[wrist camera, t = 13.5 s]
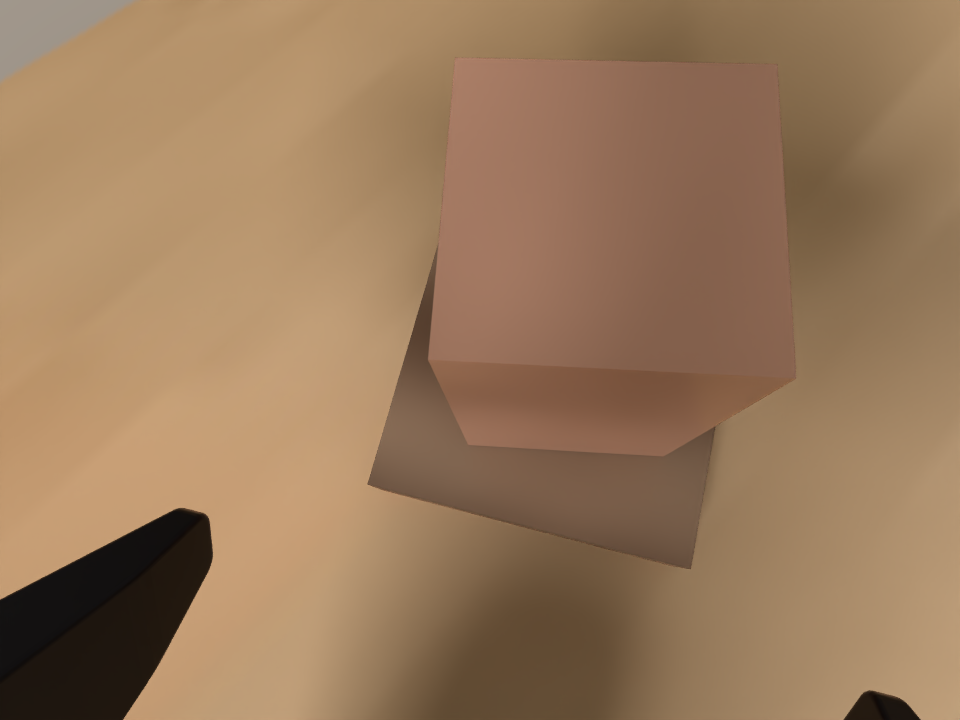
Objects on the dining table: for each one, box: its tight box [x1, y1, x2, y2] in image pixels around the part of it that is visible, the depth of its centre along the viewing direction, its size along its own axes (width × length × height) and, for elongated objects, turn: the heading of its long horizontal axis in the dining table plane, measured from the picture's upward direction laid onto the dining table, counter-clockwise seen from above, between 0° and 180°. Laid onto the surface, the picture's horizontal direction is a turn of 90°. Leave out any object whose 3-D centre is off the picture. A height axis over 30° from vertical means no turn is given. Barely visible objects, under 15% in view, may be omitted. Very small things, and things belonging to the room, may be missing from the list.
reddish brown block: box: [428, 58, 796, 457], centre depth 17 cm, size 6×6×10 cm
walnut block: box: [368, 247, 715, 569], centre depth 23 cm, size 10×10×3 cm
